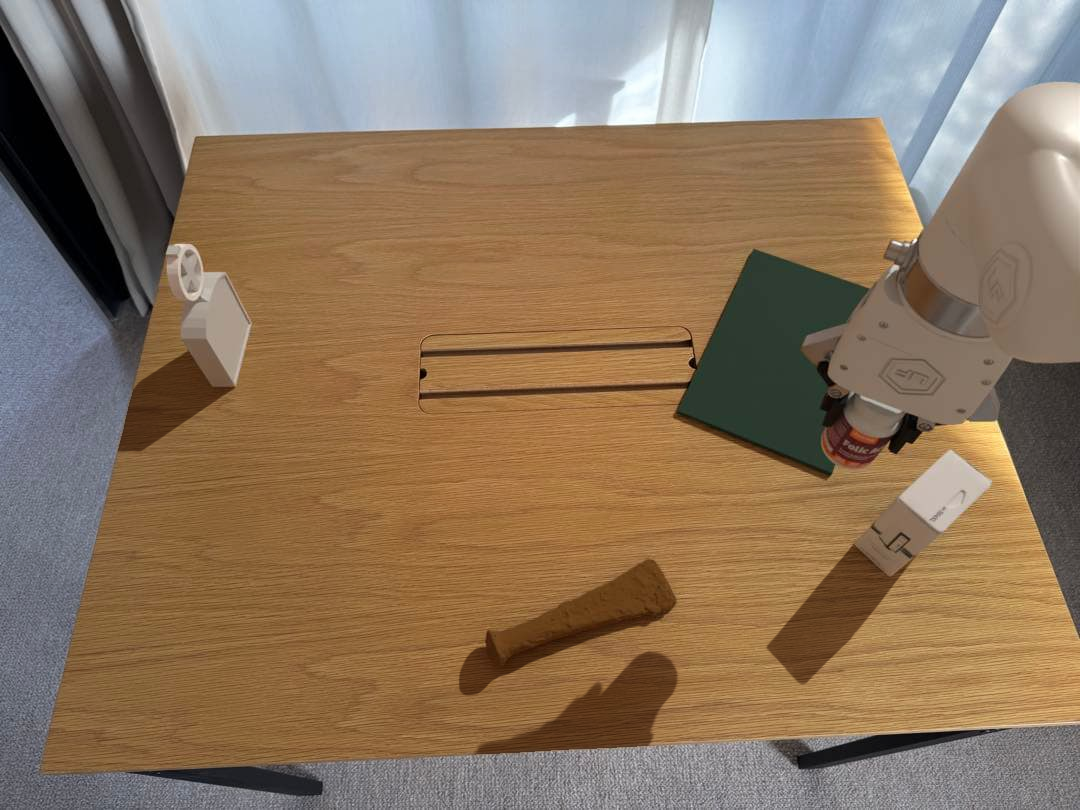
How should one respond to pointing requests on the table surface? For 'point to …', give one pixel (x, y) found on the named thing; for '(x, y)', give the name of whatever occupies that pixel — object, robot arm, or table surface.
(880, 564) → the ink box
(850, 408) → the pill bottle
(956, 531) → the table surface
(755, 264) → the mat
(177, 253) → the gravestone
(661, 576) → the primitive tool
